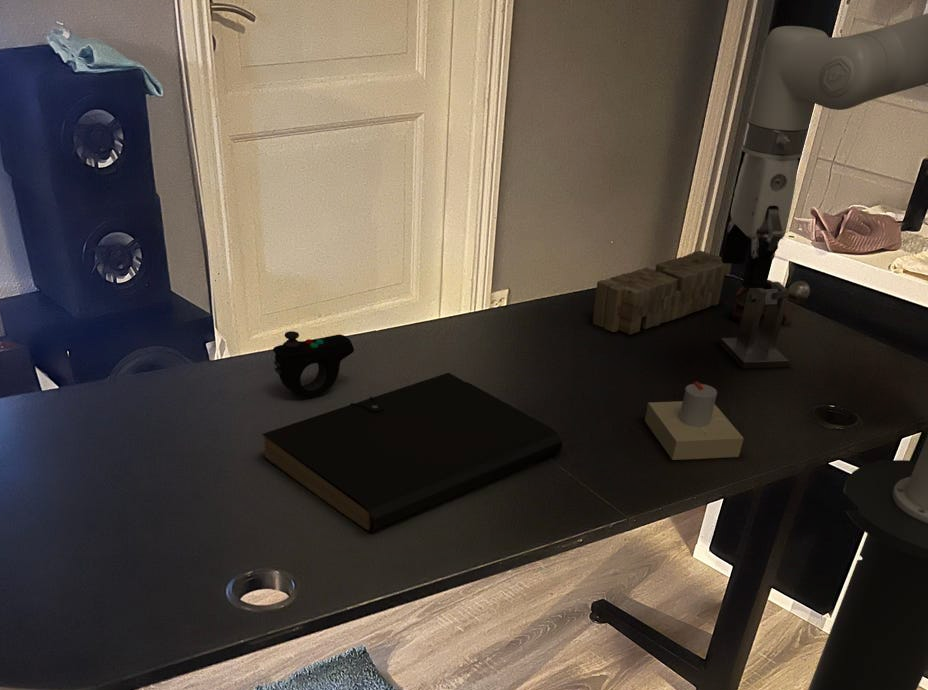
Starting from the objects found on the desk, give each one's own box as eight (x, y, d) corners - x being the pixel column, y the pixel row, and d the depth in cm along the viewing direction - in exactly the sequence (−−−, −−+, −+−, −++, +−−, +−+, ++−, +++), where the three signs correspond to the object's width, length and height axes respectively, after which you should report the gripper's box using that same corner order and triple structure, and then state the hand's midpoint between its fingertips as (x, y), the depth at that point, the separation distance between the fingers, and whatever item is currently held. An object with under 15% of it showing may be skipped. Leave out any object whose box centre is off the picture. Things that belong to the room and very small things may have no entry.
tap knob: (714, 425, 138) (722, 394, 135) (685, 427, 137) (692, 395, 134) (703, 411, 141) (710, 380, 138) (674, 413, 141) (681, 381, 138)
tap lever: (813, 301, 149) (814, 279, 148) (794, 302, 149) (795, 279, 148) (771, 308, 162) (772, 288, 161) (753, 308, 161) (754, 288, 160)
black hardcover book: (447, 369, 146) (564, 432, 133) (446, 394, 149) (560, 459, 135) (261, 430, 128) (373, 510, 115) (263, 458, 131) (373, 539, 118)
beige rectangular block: (739, 457, 137) (744, 437, 135) (672, 460, 136) (676, 440, 134) (707, 418, 147) (711, 399, 145) (644, 420, 145) (648, 401, 143)
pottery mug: (794, 334, 176) (786, 297, 170) (741, 351, 179) (731, 316, 173) (783, 294, 183) (775, 257, 177) (732, 311, 186) (723, 276, 180)
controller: (272, 396, 146) (267, 331, 139) (344, 379, 151) (342, 317, 145) (285, 408, 143) (281, 342, 136) (358, 390, 148) (357, 326, 142)
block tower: (623, 342, 170) (725, 302, 185) (630, 294, 165) (734, 258, 179) (590, 327, 175) (692, 290, 189) (595, 280, 169) (701, 246, 184)
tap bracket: (786, 367, 163) (806, 297, 155) (742, 368, 161) (760, 298, 154) (762, 343, 170) (779, 275, 163) (719, 344, 169) (735, 276, 162)
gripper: (827, 158, 118) (789, 298, 129) (780, 126, 132) (749, 255, 142) (767, 156, 118) (734, 296, 129) (726, 124, 131) (699, 253, 142)
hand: (742, 274), depth 135 cm, fingers open, 9 cm apart
